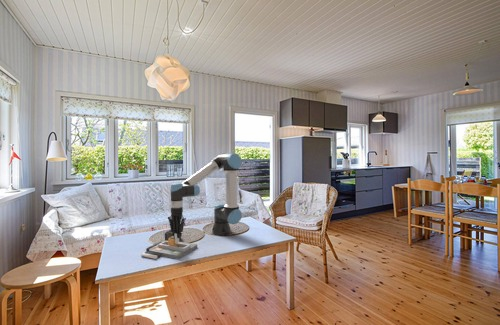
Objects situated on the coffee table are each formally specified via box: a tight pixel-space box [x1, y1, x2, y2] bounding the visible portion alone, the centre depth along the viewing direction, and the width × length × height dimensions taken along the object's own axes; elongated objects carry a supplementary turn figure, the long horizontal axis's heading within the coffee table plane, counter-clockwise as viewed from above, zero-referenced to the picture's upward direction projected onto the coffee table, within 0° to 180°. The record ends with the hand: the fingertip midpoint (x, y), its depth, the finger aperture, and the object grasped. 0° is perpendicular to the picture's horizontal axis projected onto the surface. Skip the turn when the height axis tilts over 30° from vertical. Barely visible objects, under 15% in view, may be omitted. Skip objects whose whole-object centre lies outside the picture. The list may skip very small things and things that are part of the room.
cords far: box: [140, 251, 162, 260], centre depth 148 cm, size 12×5×2 cm, turn 69°
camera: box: [164, 229, 183, 241], centre depth 178 cm, size 13×10×10 cm
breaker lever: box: [168, 236, 178, 247], centre depth 158 cm, size 4×4×7 cm
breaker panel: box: [149, 240, 198, 260], centre depth 158 cm, size 20×22×4 cm
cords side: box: [145, 241, 163, 252], centre depth 162 cm, size 14×5×2 cm, turn 159°
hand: (176, 242), depth 157 cm, fingers closed
